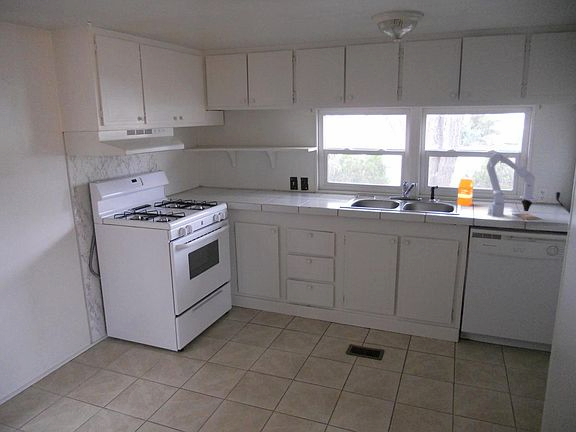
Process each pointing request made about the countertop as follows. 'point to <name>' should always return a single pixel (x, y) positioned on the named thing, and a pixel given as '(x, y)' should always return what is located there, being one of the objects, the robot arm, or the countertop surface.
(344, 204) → the countertop surface
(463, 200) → the orange juice
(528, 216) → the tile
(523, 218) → the mat
